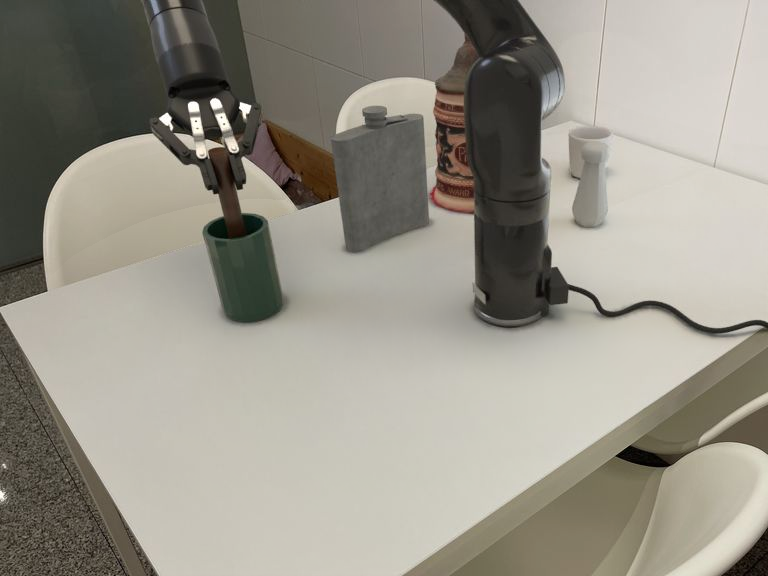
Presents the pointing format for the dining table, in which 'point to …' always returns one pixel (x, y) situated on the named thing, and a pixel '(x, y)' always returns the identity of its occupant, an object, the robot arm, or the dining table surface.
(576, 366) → the dining table surface
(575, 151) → the cup
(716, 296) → the dining table surface
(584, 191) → the salt shaker
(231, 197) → the bottle brush
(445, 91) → the beer stein
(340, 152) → the hip flask
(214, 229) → the green cylindrical holder
